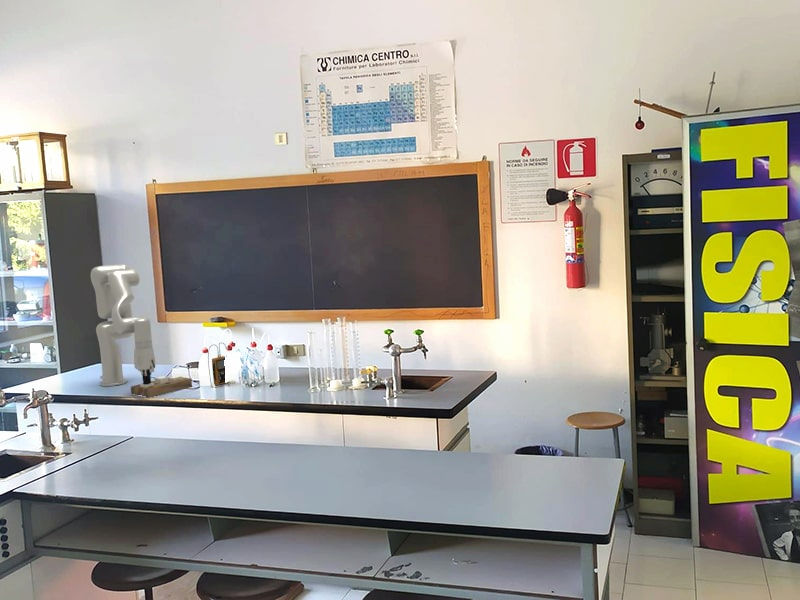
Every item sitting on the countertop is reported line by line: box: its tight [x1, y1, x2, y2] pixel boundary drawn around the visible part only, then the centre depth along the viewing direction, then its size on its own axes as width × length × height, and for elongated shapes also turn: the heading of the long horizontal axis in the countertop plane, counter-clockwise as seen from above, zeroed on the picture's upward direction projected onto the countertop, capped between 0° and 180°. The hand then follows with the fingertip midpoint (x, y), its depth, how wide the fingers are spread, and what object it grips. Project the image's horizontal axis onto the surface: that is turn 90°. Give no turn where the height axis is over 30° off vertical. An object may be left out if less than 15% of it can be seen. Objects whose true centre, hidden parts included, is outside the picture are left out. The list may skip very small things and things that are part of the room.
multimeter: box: [207, 342, 230, 388], centre depth 365 cm, size 15×10×20 cm
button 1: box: [140, 383, 154, 388], centre depth 353 cm, size 4×4×5 cm
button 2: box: [167, 375, 183, 380], centre depth 366 cm, size 4×4×5 cm
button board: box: [130, 375, 193, 398], centre depth 359 cm, size 14×24×4 cm, turn 145°
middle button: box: [153, 375, 169, 384], centre depth 359 cm, size 4×4×5 cm
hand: (147, 383), depth 352 cm, fingers closed
